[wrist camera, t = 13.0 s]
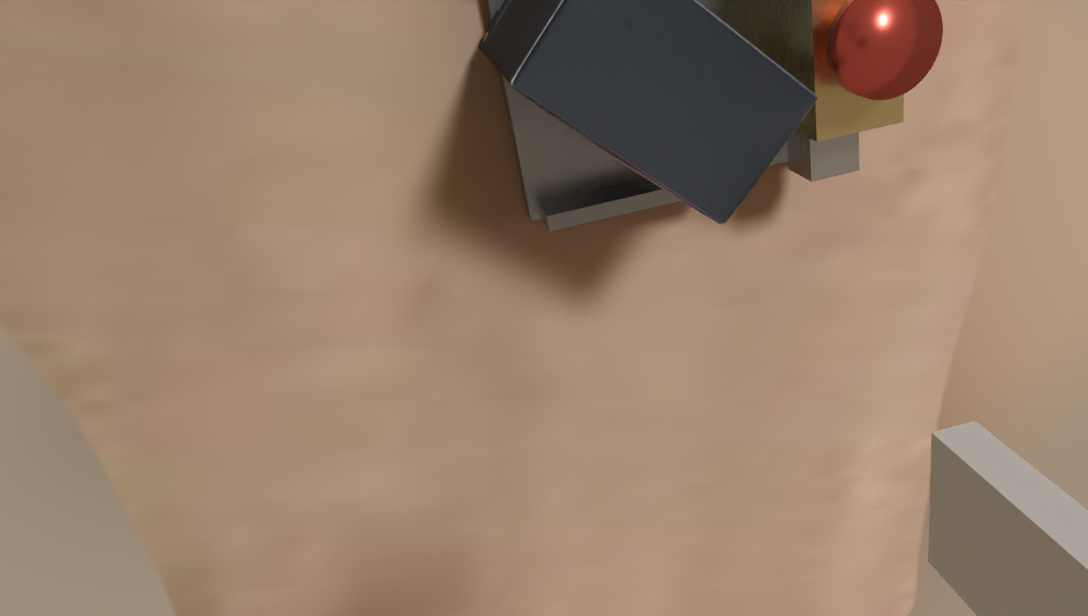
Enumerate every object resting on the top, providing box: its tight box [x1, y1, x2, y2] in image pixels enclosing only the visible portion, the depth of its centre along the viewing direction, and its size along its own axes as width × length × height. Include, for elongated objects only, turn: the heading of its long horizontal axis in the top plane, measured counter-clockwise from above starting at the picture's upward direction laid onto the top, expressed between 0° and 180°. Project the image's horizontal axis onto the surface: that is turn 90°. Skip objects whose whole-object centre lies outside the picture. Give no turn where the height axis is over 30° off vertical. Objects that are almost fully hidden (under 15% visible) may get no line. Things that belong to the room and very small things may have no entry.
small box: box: [479, 0, 818, 224], centre depth 35 cm, size 11×6×10 cm, turn 56°
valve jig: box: [486, 0, 943, 232], centre depth 36 cm, size 16×14×10 cm
